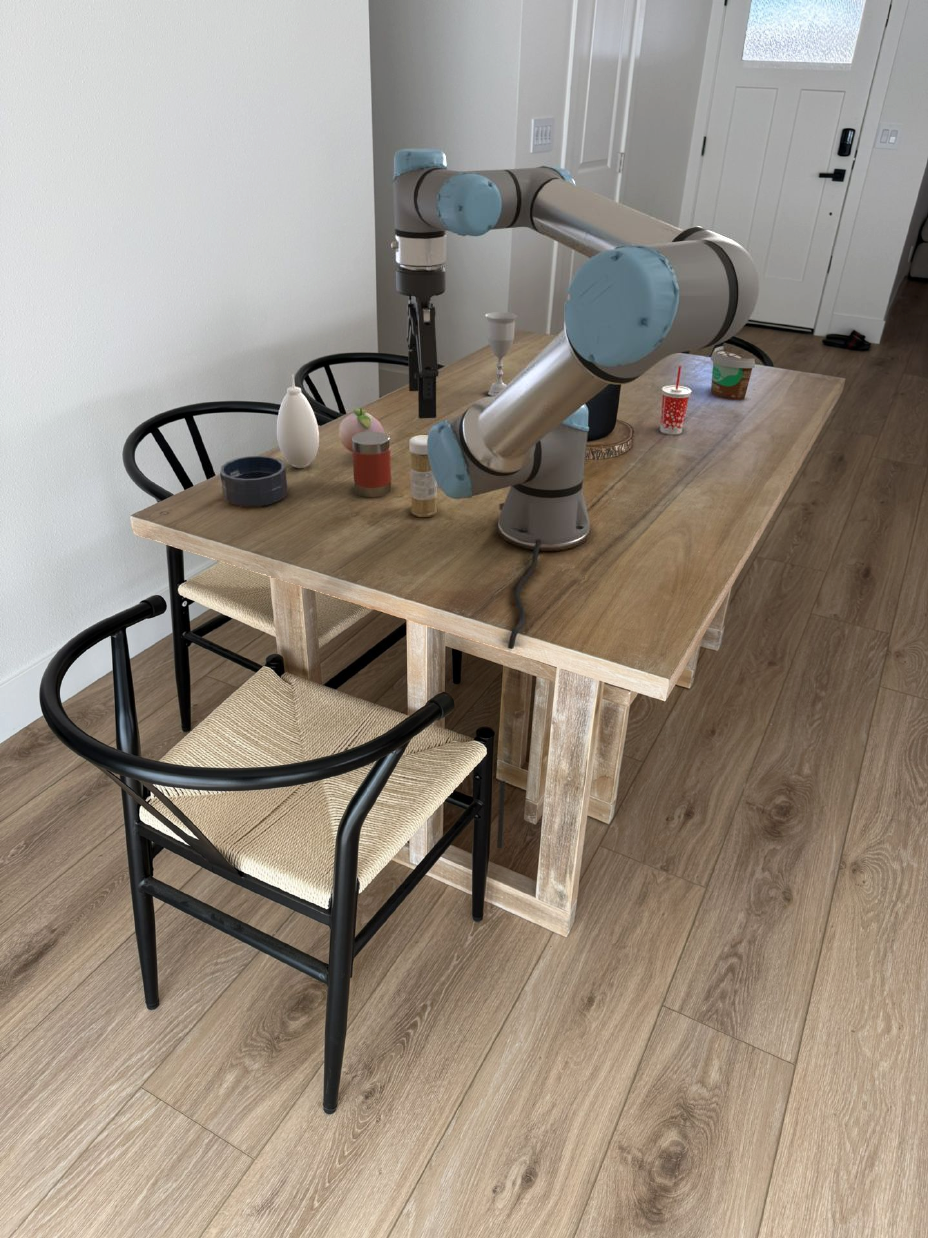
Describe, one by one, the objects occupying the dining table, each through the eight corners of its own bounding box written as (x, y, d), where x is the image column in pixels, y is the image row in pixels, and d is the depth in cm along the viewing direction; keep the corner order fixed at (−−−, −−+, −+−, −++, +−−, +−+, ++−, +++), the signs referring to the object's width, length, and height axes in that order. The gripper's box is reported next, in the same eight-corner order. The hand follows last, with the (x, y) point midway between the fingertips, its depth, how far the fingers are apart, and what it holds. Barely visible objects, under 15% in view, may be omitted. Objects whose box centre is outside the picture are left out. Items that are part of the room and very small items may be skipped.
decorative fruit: (334, 453, 177) (330, 404, 172) (372, 446, 180) (369, 398, 175) (351, 469, 170) (348, 419, 165) (390, 462, 173) (388, 412, 168)
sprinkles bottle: (426, 505, 157) (425, 432, 150) (442, 513, 154) (442, 439, 147) (405, 511, 154) (403, 437, 147) (421, 520, 151) (420, 445, 144)
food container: (694, 389, 216) (701, 348, 211) (715, 386, 218) (721, 345, 213) (727, 404, 206) (735, 361, 201) (748, 401, 209) (756, 358, 203)
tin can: (393, 496, 160) (391, 443, 154) (355, 498, 159) (352, 445, 153) (389, 481, 165) (387, 430, 160) (353, 483, 164) (350, 432, 159)
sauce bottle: (276, 461, 173) (267, 369, 163) (316, 456, 175) (309, 366, 166) (284, 476, 167) (275, 382, 157) (325, 471, 169) (318, 378, 160)
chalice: (480, 395, 209) (481, 317, 199) (487, 387, 214) (489, 311, 205) (510, 399, 207) (513, 320, 197) (517, 390, 212) (520, 313, 203)
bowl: (287, 507, 155) (284, 478, 152) (222, 511, 153) (218, 481, 151) (288, 482, 164) (285, 454, 162) (226, 485, 163) (222, 457, 160)
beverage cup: (690, 433, 189) (701, 368, 182) (666, 437, 187) (675, 371, 180) (675, 424, 194) (684, 360, 187) (651, 427, 192) (659, 363, 185)
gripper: (388, 250, 142) (391, 380, 154) (404, 282, 122) (407, 431, 133) (434, 249, 143) (434, 379, 155) (458, 282, 123) (456, 428, 134)
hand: (422, 403), depth 144 cm, fingers open, 13 cm apart
